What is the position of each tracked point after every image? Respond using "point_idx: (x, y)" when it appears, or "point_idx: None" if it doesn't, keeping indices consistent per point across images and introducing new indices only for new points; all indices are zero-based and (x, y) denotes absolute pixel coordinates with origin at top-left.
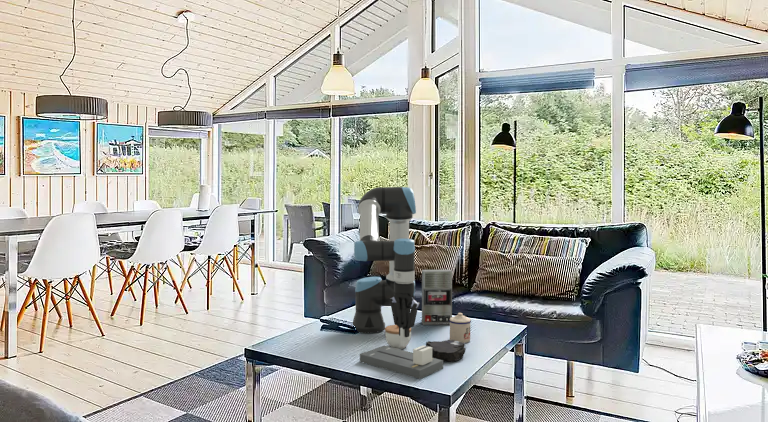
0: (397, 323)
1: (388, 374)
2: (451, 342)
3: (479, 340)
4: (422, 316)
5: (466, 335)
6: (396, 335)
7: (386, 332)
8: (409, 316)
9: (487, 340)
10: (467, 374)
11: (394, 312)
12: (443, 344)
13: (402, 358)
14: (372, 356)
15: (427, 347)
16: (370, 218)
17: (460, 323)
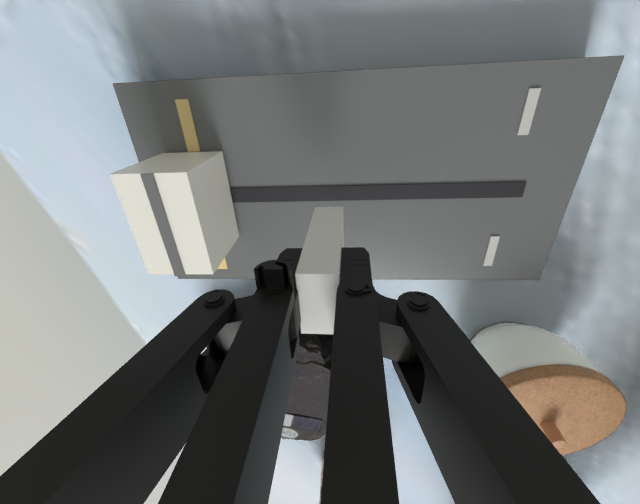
0: (396, 314)
1: (302, 8)
2: (295, 422)
3: (310, 478)
4: None
5: (321, 481)
6: (514, 364)
7: (590, 368)
8: (130, 413)
9: (295, 484)
10: (94, 264)
11: (491, 449)
12: (301, 397)
13: (327, 181)
14: (507, 81)
15: (164, 258)
16: None
17: None
